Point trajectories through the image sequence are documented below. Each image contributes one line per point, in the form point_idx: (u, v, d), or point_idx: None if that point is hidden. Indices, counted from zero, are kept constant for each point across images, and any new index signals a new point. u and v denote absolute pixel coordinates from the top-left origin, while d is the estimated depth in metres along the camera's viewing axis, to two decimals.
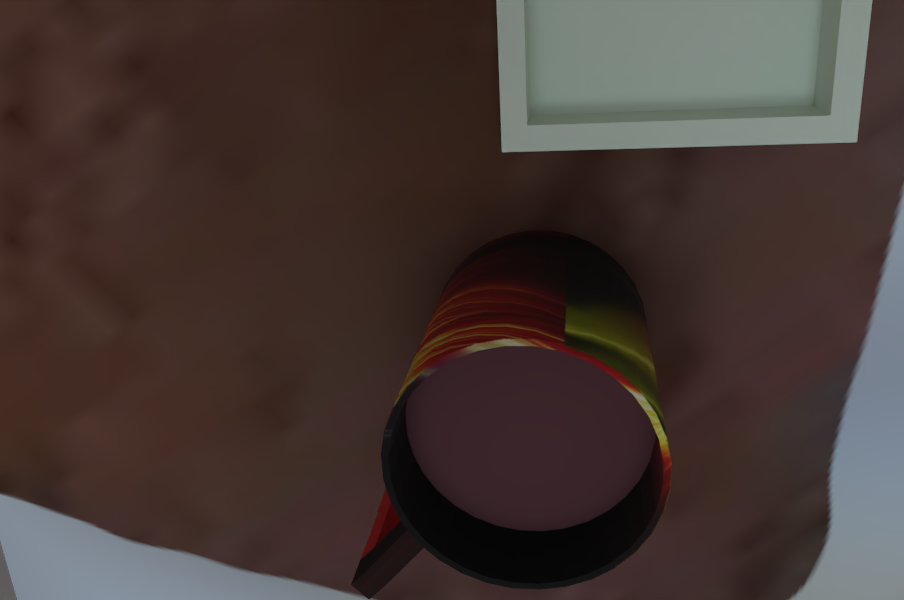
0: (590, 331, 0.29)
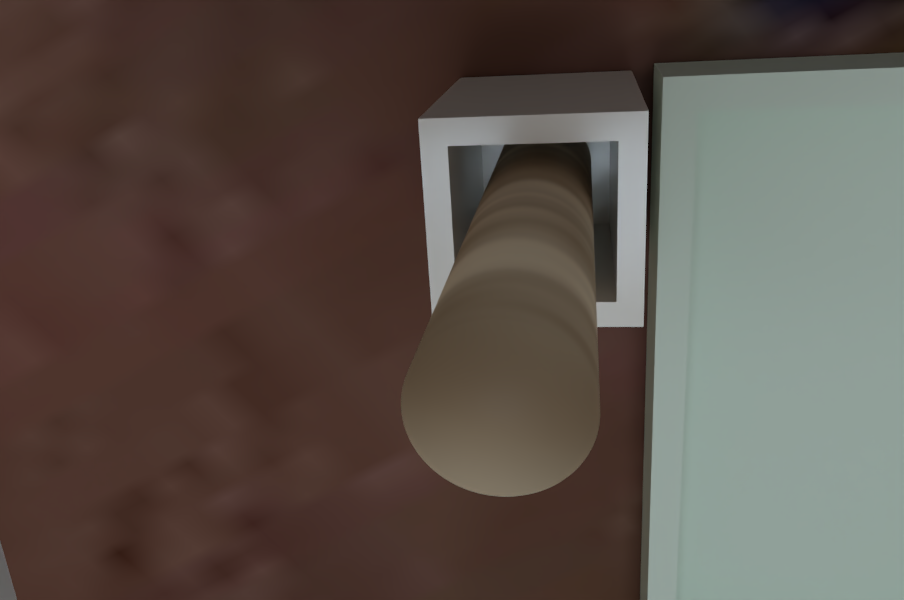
0: None
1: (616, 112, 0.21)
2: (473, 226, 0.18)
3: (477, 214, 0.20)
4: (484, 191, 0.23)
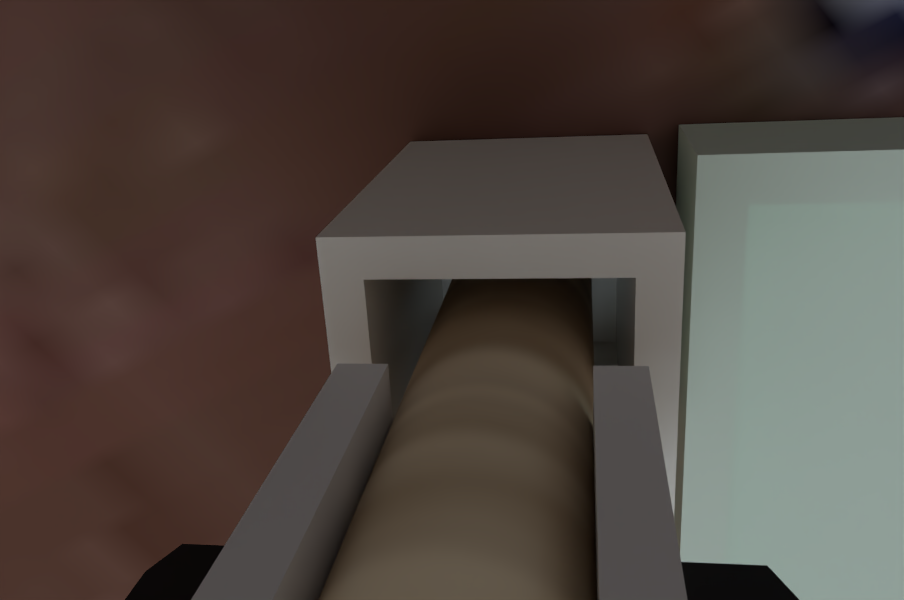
0: None
1: (632, 233, 0.13)
2: (385, 457, 0.11)
3: (400, 415, 0.12)
4: None
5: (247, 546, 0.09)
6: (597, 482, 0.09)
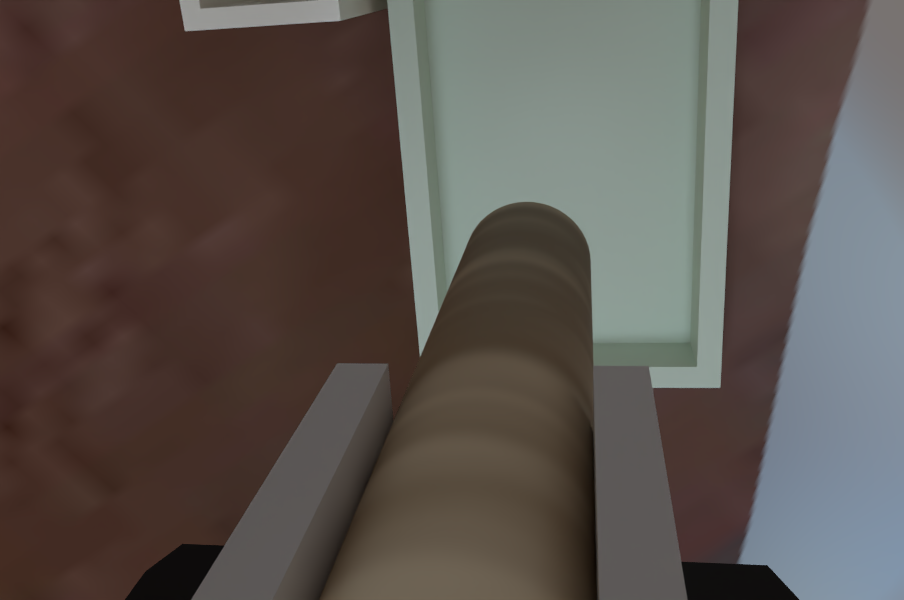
0: None
1: None
2: (384, 460, 0.10)
3: (399, 419, 0.12)
4: (428, 338, 0.15)
5: (247, 546, 0.09)
6: (597, 482, 0.09)
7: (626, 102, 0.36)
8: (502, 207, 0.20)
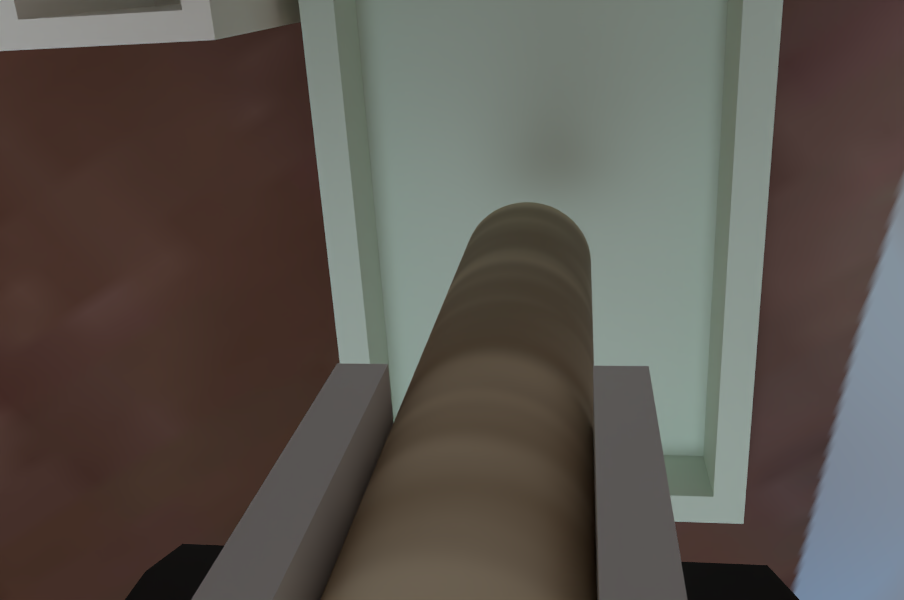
0: None
1: None
2: (385, 461, 0.10)
3: (400, 419, 0.12)
4: None
5: (247, 546, 0.09)
6: (597, 482, 0.09)
7: (624, 149, 0.27)
8: (502, 207, 0.20)
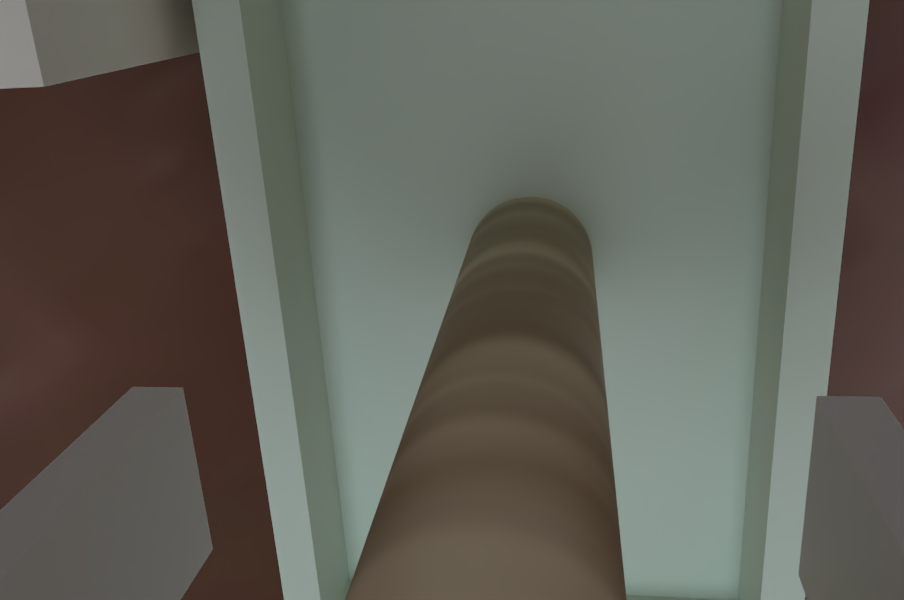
0: None
1: None
2: (409, 442, 0.11)
3: (420, 403, 0.12)
4: (440, 328, 0.15)
5: None
6: (896, 540, 0.08)
7: (639, 218, 0.20)
8: (505, 202, 0.20)
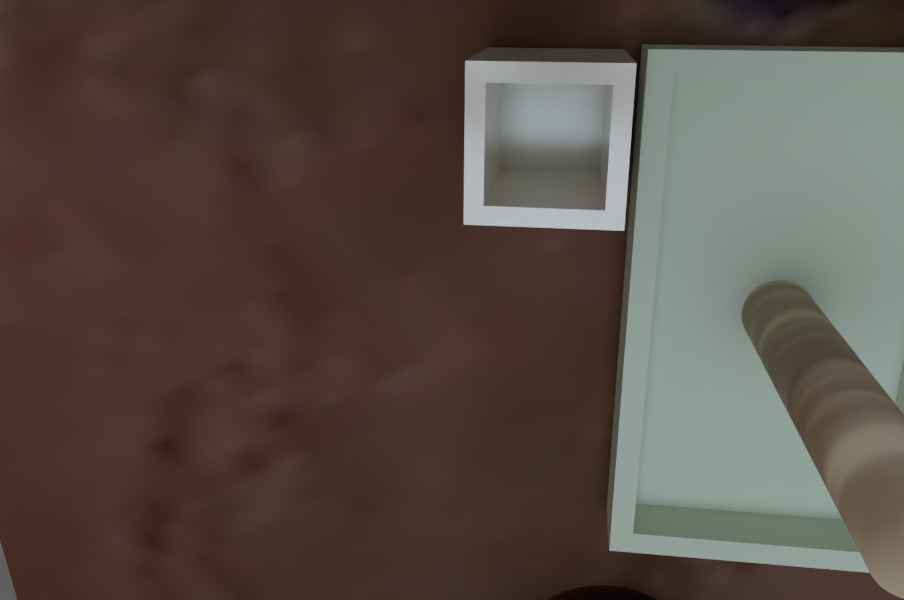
0: None
1: (613, 63, 0.28)
2: (822, 398, 0.27)
3: (810, 384, 0.28)
4: (776, 352, 0.32)
5: None
6: None
7: (843, 295, 0.36)
8: (769, 282, 0.37)
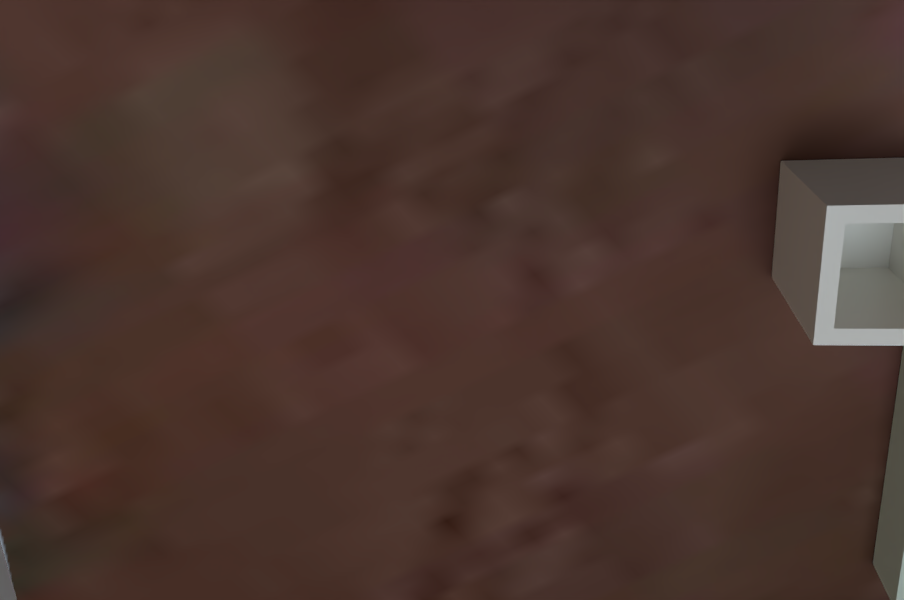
0: None
1: None
2: None
3: None
4: None
5: None
6: None
7: None
8: None
